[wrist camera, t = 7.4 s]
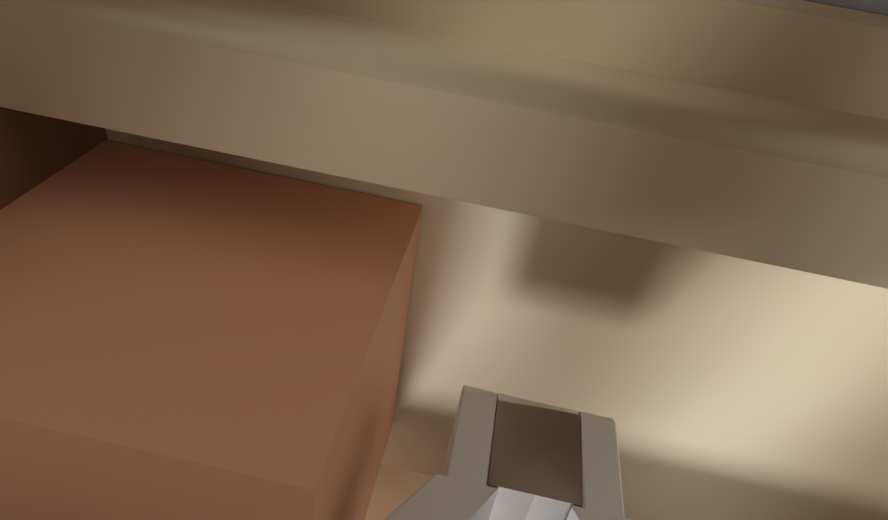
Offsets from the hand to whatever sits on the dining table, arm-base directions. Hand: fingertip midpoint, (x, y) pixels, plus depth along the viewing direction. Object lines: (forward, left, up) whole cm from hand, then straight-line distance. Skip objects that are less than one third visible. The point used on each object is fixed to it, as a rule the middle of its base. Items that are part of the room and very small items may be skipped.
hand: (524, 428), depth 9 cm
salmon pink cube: (+5, 0, -2) cm, 5 cm away
